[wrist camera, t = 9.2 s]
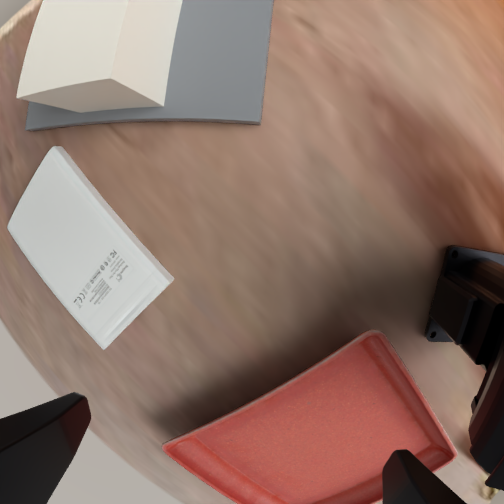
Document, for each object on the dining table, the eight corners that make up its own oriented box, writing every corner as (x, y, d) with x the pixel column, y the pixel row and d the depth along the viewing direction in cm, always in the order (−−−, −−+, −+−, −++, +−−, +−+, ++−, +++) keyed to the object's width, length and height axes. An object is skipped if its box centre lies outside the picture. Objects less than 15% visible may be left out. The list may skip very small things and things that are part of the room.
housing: (108, -7, 14) (63, -45, 8) (187, -22, 13) (156, -76, 8) (80, 112, 16) (16, 98, 10) (163, 106, 16) (110, 78, 10)
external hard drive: (65, 146, 18) (177, 276, 19) (18, 225, 20) (111, 342, 21) (51, 145, 17) (169, 284, 18) (5, 229, 19) (101, 353, 20)
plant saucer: (364, 302, 19) (378, 325, 15) (449, 434, 21) (461, 458, 17) (168, 420, 22) (155, 447, 19) (292, 509, 25) (292, 533, 21)
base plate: (276, -24, 14) (274, -55, 10) (260, 125, 16) (255, 111, 13) (62, 7, 15) (37, -8, 12) (33, 130, 18) (1, 128, 14)
